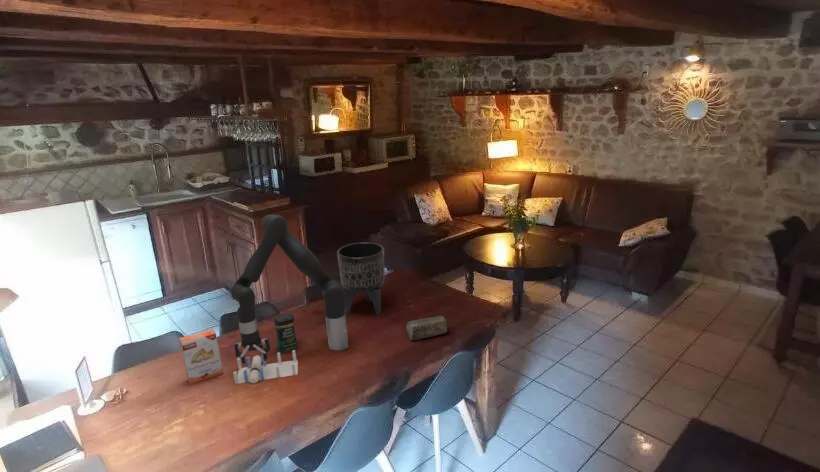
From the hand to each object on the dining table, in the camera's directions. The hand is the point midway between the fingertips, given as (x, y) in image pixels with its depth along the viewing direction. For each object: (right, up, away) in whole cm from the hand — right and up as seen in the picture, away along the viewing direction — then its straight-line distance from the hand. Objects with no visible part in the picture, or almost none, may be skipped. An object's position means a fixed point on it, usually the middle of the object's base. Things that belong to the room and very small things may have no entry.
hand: (255, 361), depth 211 cm
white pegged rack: (+5, -6, +3) cm, 8 cm away
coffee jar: (+9, 0, +21) cm, 23 cm away
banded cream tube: (0, -6, +2) cm, 6 cm away
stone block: (+77, +6, +29) cm, 82 cm away
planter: (+43, +14, +58) cm, 74 cm away
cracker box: (-22, -8, +2) cm, 24 cm away
